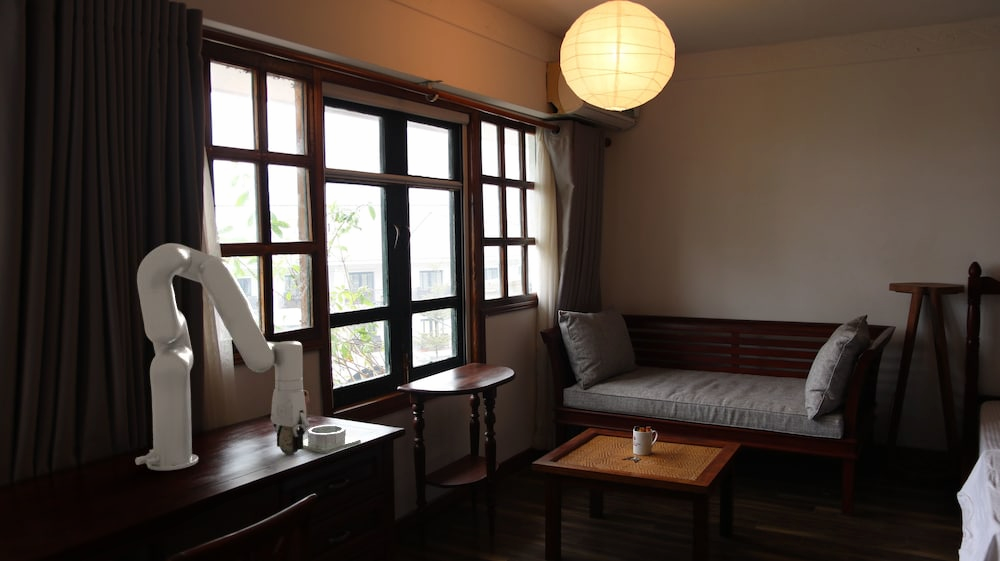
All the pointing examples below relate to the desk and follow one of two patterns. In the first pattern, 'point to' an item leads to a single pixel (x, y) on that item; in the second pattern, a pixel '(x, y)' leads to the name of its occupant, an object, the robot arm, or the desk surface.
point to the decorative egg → (287, 440)
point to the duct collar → (328, 439)
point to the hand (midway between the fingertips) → (290, 446)
